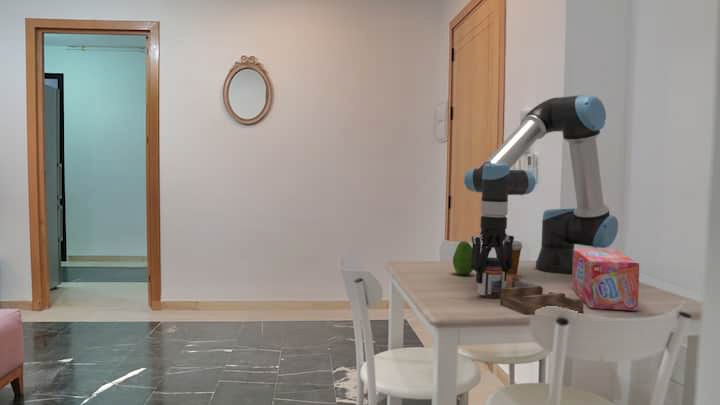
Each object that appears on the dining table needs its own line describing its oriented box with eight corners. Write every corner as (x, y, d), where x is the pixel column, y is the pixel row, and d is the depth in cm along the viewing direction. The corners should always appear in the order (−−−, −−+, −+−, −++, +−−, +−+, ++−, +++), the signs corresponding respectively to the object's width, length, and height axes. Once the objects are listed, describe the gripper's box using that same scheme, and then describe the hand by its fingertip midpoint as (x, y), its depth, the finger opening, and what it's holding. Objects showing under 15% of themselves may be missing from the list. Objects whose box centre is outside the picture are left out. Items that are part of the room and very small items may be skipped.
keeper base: (548, 299, 159) (549, 284, 159) (586, 312, 146) (586, 295, 146) (500, 304, 153) (500, 288, 152) (534, 318, 140) (535, 300, 139)
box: (570, 288, 176) (572, 245, 175) (612, 290, 174) (614, 247, 173) (588, 309, 150) (591, 260, 149) (638, 313, 148) (641, 262, 147)
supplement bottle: (477, 293, 165) (479, 256, 164) (496, 293, 165) (498, 256, 164) (483, 298, 159) (485, 260, 158) (503, 298, 159) (505, 260, 159)
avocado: (450, 275, 190) (451, 241, 190) (455, 271, 198) (456, 238, 197) (473, 278, 187) (474, 243, 187) (477, 273, 195) (478, 240, 194)
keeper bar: (512, 287, 173) (513, 273, 172) (543, 298, 160) (544, 283, 159) (505, 288, 172) (506, 274, 171) (536, 299, 159) (537, 284, 158)
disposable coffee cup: (522, 279, 187) (523, 244, 186) (493, 277, 189) (495, 243, 188) (520, 274, 196) (521, 240, 195) (492, 272, 198) (494, 239, 197)
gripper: (511, 213, 167) (508, 288, 169) (459, 214, 160) (456, 292, 162) (528, 216, 161) (524, 293, 162) (474, 217, 153) (471, 298, 155)
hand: (490, 293), depth 162 cm, fingers closed on supplement bottle, 6 cm apart
